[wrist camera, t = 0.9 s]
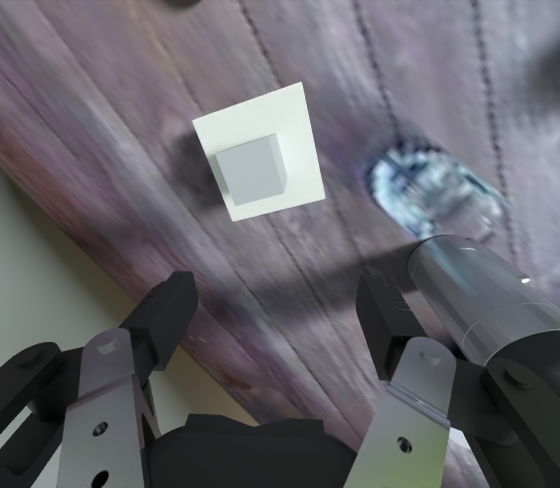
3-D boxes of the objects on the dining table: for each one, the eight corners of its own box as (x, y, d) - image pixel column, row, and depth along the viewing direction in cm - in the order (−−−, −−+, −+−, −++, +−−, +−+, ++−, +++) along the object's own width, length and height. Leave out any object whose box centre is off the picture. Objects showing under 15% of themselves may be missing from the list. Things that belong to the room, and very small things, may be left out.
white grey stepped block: (301, 92, 27) (302, 66, 14) (319, 179, 31) (332, 221, 18) (221, 120, 29) (155, 120, 16) (248, 198, 33) (215, 248, 20)
